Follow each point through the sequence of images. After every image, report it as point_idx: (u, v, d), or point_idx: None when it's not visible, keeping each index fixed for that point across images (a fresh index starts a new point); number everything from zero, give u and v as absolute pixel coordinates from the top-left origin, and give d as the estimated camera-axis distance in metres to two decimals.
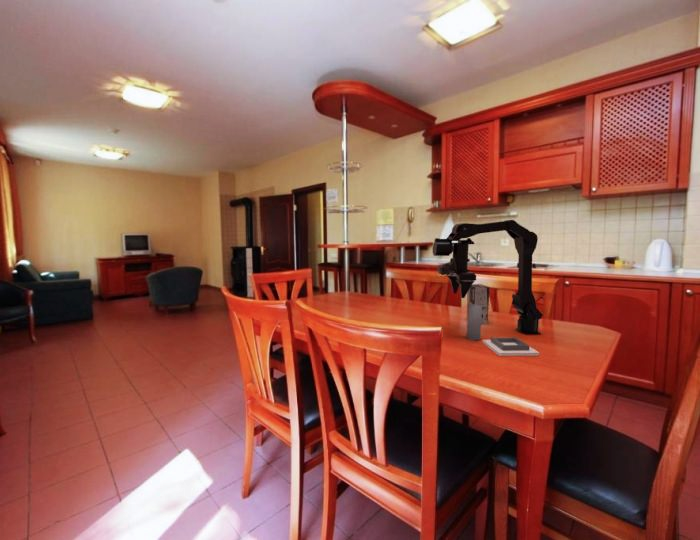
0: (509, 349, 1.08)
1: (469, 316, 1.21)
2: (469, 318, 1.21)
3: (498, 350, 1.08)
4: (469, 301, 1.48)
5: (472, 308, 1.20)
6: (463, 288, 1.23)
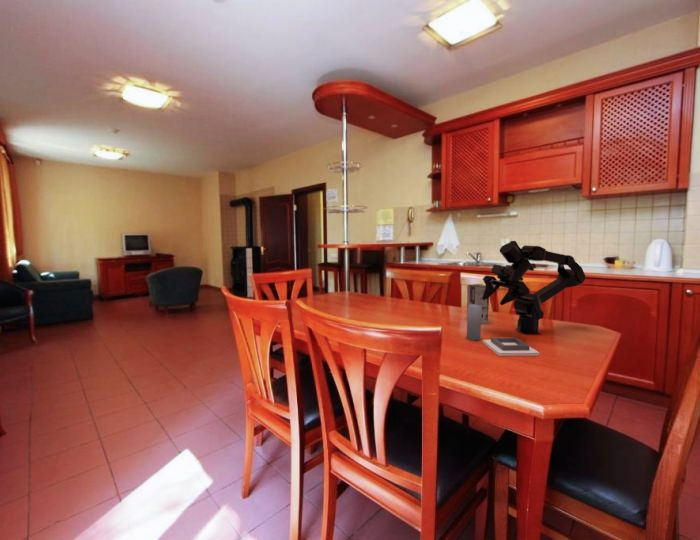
0: (509, 349, 1.08)
1: (469, 316, 1.21)
2: (469, 318, 1.21)
3: (498, 350, 1.08)
4: (469, 301, 1.48)
5: (472, 308, 1.20)
6: (509, 296, 1.19)
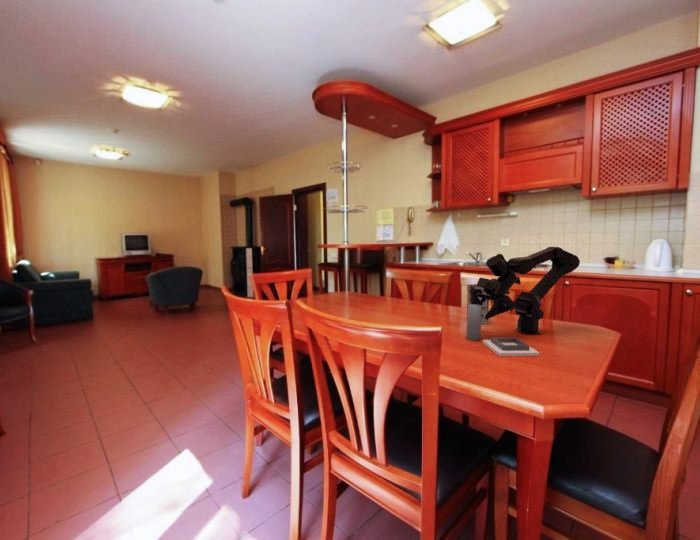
0: (509, 349, 1.08)
1: (469, 316, 1.21)
2: (469, 318, 1.21)
3: (498, 350, 1.08)
4: (469, 301, 1.48)
5: (472, 308, 1.20)
6: (494, 310, 1.17)
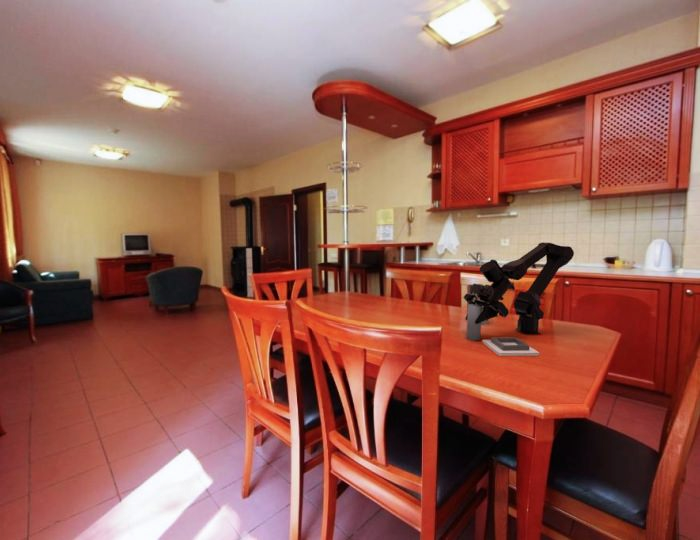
0: (509, 349, 1.08)
1: (469, 316, 1.21)
2: (469, 318, 1.21)
3: (498, 350, 1.08)
4: None
5: (472, 308, 1.20)
6: (484, 315, 1.19)
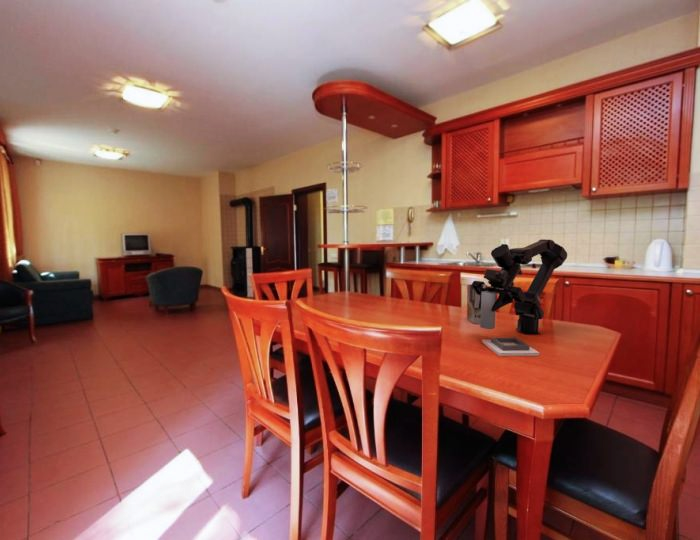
0: (509, 349, 1.08)
1: (484, 304, 1.15)
2: (484, 306, 1.15)
3: (498, 350, 1.08)
4: (469, 301, 1.48)
5: (488, 295, 1.14)
6: (500, 302, 1.14)
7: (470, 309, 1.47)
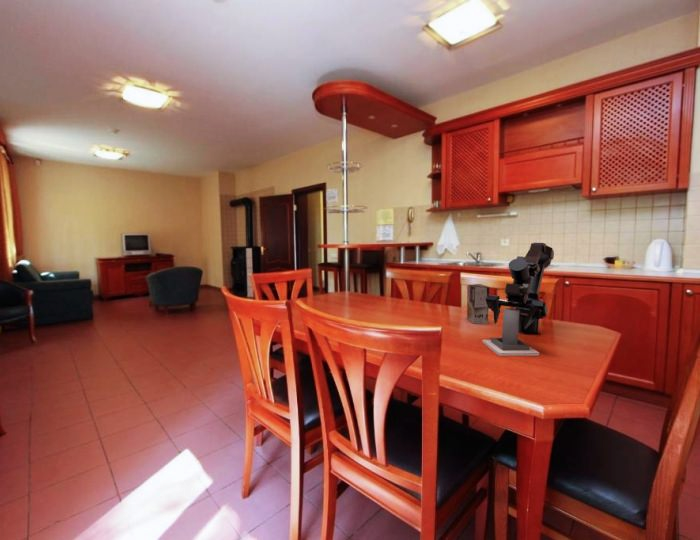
0: (509, 349, 1.08)
1: (509, 322, 1.09)
2: (509, 324, 1.09)
3: (498, 350, 1.08)
4: (469, 301, 1.48)
5: (513, 313, 1.09)
6: (531, 318, 1.08)
7: (470, 309, 1.47)
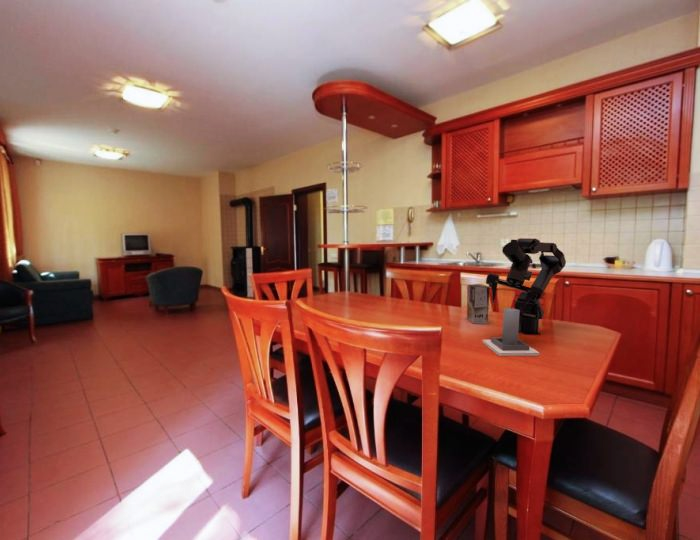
0: (509, 349, 1.08)
1: (509, 322, 1.09)
2: (509, 324, 1.09)
3: (498, 350, 1.08)
4: (469, 301, 1.48)
5: (513, 313, 1.09)
6: None
7: (470, 309, 1.47)
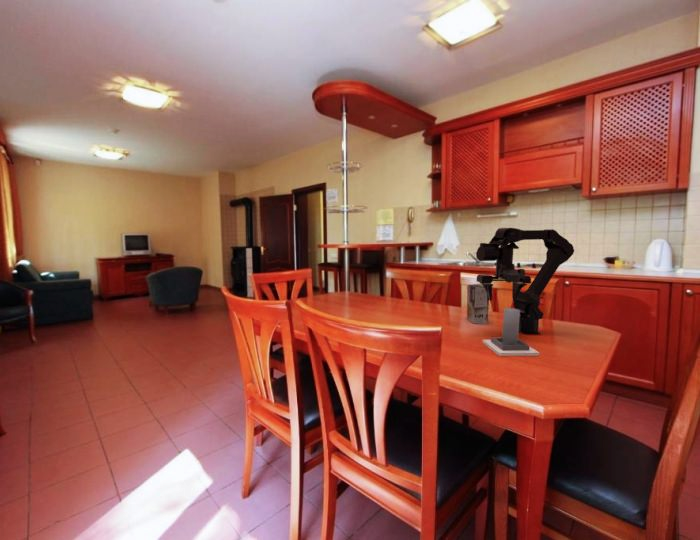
0: (509, 349, 1.08)
1: (509, 322, 1.09)
2: (509, 324, 1.09)
3: (498, 350, 1.08)
4: (469, 301, 1.48)
5: (514, 313, 1.08)
6: None
7: (470, 309, 1.47)
